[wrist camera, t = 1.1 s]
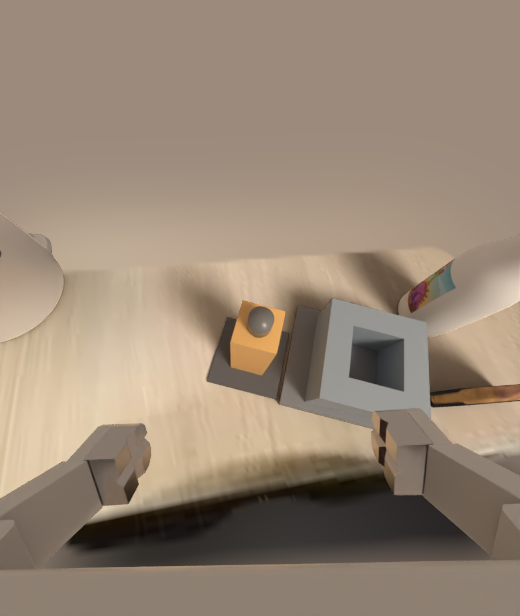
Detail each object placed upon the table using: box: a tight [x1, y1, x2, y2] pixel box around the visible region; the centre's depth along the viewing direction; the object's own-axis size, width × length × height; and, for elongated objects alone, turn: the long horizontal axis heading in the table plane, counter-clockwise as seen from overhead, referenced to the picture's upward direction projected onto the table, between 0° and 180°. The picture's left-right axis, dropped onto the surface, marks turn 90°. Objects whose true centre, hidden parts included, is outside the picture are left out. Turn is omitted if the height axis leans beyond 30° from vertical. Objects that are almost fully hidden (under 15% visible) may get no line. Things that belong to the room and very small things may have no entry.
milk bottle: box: [398, 234, 520, 338], centre depth 31 cm, size 8×8×20 cm
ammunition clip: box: [430, 384, 520, 407], centre depth 30 cm, size 11×2×12 cm, turn 94°
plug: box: [230, 300, 286, 375], centre depth 28 cm, size 4×4×14 cm
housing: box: [279, 298, 431, 429], centre depth 32 cm, size 18×14×7 cm
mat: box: [207, 317, 289, 399], centre depth 34 cm, size 9×9×1 cm
